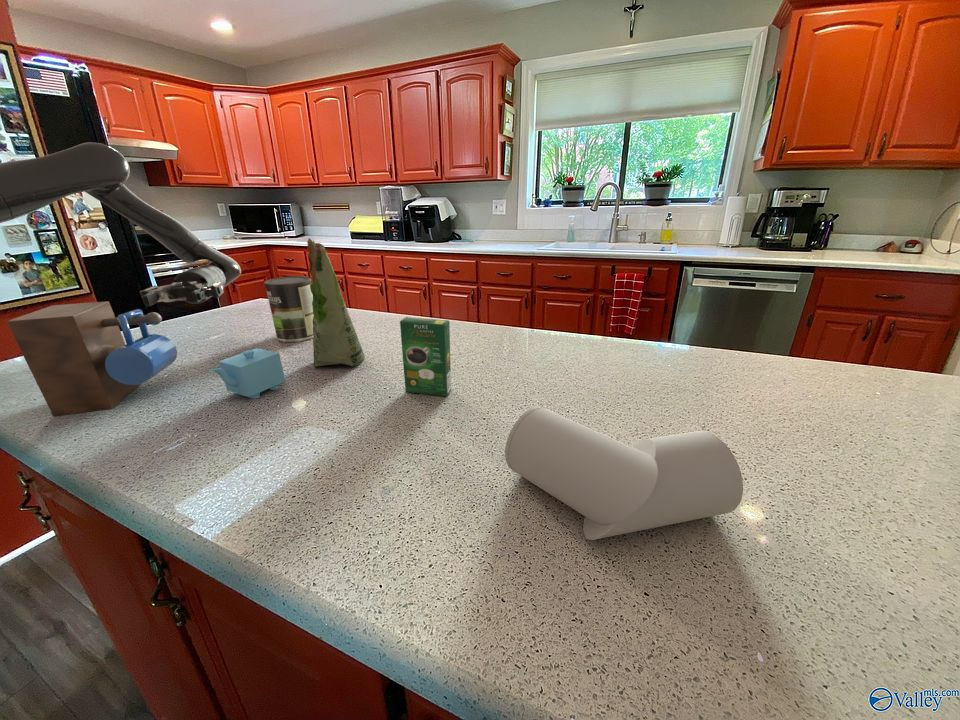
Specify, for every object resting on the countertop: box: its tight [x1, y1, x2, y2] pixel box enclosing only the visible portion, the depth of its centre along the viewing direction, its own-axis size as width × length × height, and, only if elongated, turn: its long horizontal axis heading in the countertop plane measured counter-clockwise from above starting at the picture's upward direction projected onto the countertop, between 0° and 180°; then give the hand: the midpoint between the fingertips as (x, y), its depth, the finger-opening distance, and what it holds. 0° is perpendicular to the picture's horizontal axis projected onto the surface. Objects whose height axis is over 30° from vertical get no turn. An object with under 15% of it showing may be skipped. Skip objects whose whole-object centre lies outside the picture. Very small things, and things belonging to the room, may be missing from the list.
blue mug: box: [105, 308, 178, 385], centre depth 68 cm, size 11×6×10 cm
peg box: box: [6, 300, 163, 417], centre depth 67 cm, size 16×10×16 cm, turn 107°
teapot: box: [208, 347, 286, 400], centre depth 69 cm, size 12×6×8 cm, turn 153°
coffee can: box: [263, 275, 314, 343], centre depth 97 cm, size 10×10×14 cm
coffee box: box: [399, 316, 452, 397], centre depth 67 cm, size 8×3×13 cm, turn 76°
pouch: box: [306, 237, 366, 368], centre depth 78 cm, size 11×12×25 cm
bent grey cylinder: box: [504, 406, 744, 541], centre depth 43 cm, size 18×11×20 cm
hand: (170, 299), depth 81 cm, fingers open, 8 cm apart
